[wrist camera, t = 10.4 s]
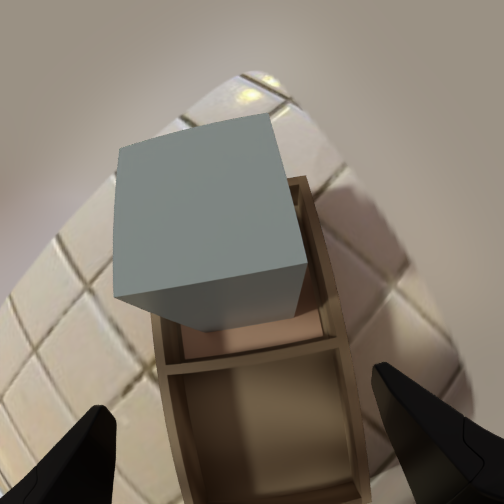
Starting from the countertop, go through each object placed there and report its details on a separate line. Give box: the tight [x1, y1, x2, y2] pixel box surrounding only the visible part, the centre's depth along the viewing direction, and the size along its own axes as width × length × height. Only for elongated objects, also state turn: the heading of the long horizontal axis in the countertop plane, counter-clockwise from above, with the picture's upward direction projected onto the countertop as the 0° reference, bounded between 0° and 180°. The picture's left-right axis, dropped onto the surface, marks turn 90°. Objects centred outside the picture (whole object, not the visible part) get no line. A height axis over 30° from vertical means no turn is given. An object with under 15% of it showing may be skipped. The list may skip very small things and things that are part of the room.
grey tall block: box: [113, 113, 308, 333], centre depth 13 cm, size 5×5×10 cm
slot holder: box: [151, 175, 372, 504], centre depth 15 cm, size 18×9×3 cm, turn 9°
